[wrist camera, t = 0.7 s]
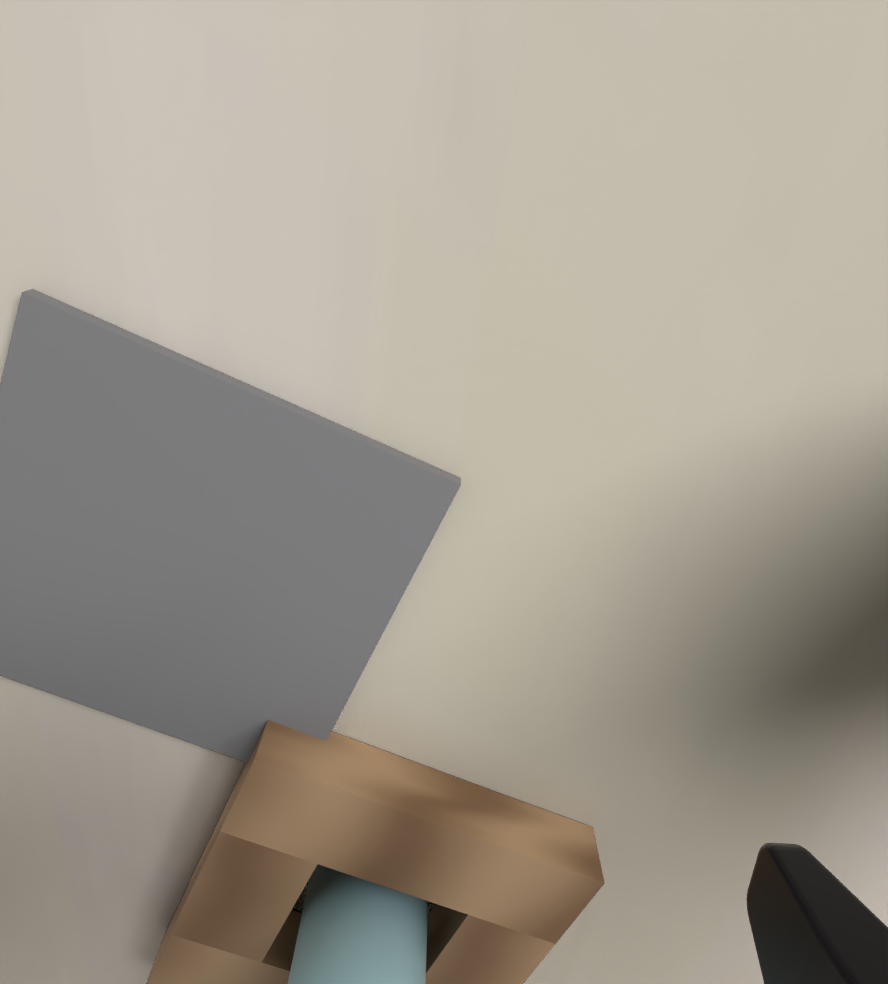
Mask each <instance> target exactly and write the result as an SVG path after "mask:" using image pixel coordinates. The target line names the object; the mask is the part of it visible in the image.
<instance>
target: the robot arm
mask: <svg viewBox="0 0 888 984" xmlns="http://www.w3.org/2000/svg"><path fill="white" fill-rule="evenodd" d="M747 910H748V916H749V920H750V925H751V929H752V933H753V937H754V942H755V946H756V950H757V954H758V959H759V963H760V967H761V971H762V976H763V980H764V984H888V927H887V926H886V925H885V924H884V923H883V922H882V921H881V920H880V919H878V918H877V917H876V916H875V915H874V914H873V913H872V912H871V911H870V910H869V909H868V908H867V907H866V906H865V905H864V904H863V903H862V902H861V901H860V900H859V899H858V898H857V897H856V896H855V895H853V894H852V893H851V892H850V891H849V890H848V889H847V888H846V887H845V886H844V885H843V884H842V883H841V882H840V881H839V880H838V879H837V878H836V877H835V876H834V875H833V874H832V873H831V872H830V871H829V870H827V869H826V868H825V867H824V866H823V865H822V864H821V863H820V862H819V861H818V860H817V859H816V858H815V857H814V856H813V855H812V854H811V853H810V852H809V851H807V850H806V849H805V848H803V847H802V846H800V845H796V844H783V843H766V844H764V845H763V846H762V847H761V848H760V851H759V853H758V857H757V860H756V864H755V867H754V870H753V874H752V877H751V881H750V884H749V888H748V892H747Z"/></svg>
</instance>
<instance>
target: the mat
mask: <svg viewBox="0 0 888 984" xmlns="http://www.w3.org/2000/svg"><path fill="white" fill-rule="evenodd" d="M460 485H461V482H460V478H459V477H457V476H455V475H452V474H450V473H448V472H446V471H443V470H441V469H439V468H437V467H434V466H432V465H430V464H427V463H425V462H423V461H421V460H418V459H416V458H414V457H412V456H409V455H407V454H405V453H403V452H400V451H398V450H396V449H394V448H391V447H389V446H387V445H384V444H382V443H380V442H378V441H375V440H373V439H371V438H369V437H366V436H364V435H362V434H360V433H357V432H355V431H353V430H351V429H348V428H346V427H344V426H341V425H339V424H337V423H335V422H332V421H330V420H328V419H326V418H323V417H321V416H319V415H317V414H314V413H312V412H310V411H308V410H305V409H303V408H301V407H298V406H296V405H294V404H292V403H289V402H287V401H285V400H283V399H280V398H278V397H276V396H274V395H271V394H269V393H267V392H265V391H262V390H260V389H258V388H255V387H253V386H251V385H249V384H246V383H244V382H242V381H240V380H237V379H235V378H233V377H231V376H228V375H226V374H224V373H222V372H219V371H217V370H215V369H212V368H210V367H208V366H206V365H203V364H201V363H199V362H197V361H194V360H192V359H190V358H188V357H185V356H183V355H181V354H179V353H176V352H174V351H172V350H169V349H167V348H165V347H163V346H160V345H158V344H156V343H154V342H151V341H149V340H147V339H145V338H142V337H140V336H138V335H136V334H133V333H131V332H129V331H126V330H124V329H122V328H120V327H117V326H115V325H113V324H111V323H108V322H106V321H104V320H102V319H99V318H97V317H95V316H93V315H90V314H88V313H86V312H83V311H81V310H79V309H77V308H74V307H72V306H70V305H68V304H65V303H63V302H61V301H59V300H56V299H54V298H52V297H50V296H47V295H45V294H43V293H41V292H38V291H36V290H34V289H31V290H28V291H24V292H22V295H21V299H20V303H19V308H18V312H17V316H16V321H15V325H14V329H13V334H12V338H11V342H10V347H9V351H8V355H7V360H6V364H5V368H4V373H3V377H2V381H1V386H0V676H3V677H6V678H9V679H12V680H14V681H17V682H20V683H23V684H26V685H28V686H31V687H34V688H37V689H40V690H43V691H45V692H48V693H51V694H54V695H57V696H60V697H62V698H65V699H68V700H71V701H74V702H77V703H79V704H82V705H85V706H88V707H91V708H94V709H96V710H99V711H102V712H105V713H108V714H111V715H113V716H116V717H119V718H122V719H125V720H127V721H130V722H133V723H136V724H139V725H142V726H144V727H147V728H150V729H153V730H156V731H159V732H161V733H164V734H167V735H170V736H173V737H176V738H178V739H181V740H184V741H187V742H190V743H193V744H195V745H198V746H201V747H204V748H207V749H210V750H212V751H215V752H218V753H221V754H224V755H226V756H229V757H232V758H235V759H238V760H241V761H243V762H246V763H247V762H248V760H249V758H250V756H251V754H252V752H253V750H254V748H255V746H256V744H257V741H258V739H259V737H260V735H261V733H262V731H263V729H264V727H265V725H266V723H267V720H270V721H273V722H275V723H278V724H281V725H283V726H286V727H289V728H292V729H294V730H297V731H300V732H303V733H305V734H308V735H311V736H314V737H316V738H319V739H322V740H325V741H326V740H327V738H328V737H329V735H330V733H331V731H332V729H333V727H334V725H335V723H336V721H337V719H338V717H339V716H340V714H341V712H342V710H343V708H344V706H345V704H346V702H347V700H348V698H349V697H350V695H351V693H352V691H353V689H354V687H355V685H356V683H357V681H358V679H359V678H360V676H361V674H362V672H363V670H364V668H365V666H366V664H367V662H368V660H369V658H370V657H371V655H372V653H373V651H374V649H375V647H376V645H377V643H378V641H379V639H380V638H381V636H382V634H383V632H384V630H385V628H386V626H387V624H388V622H389V620H390V619H391V617H392V615H393V613H394V611H395V609H396V607H397V605H398V603H399V601H400V599H401V598H402V596H403V594H404V592H405V590H406V588H407V586H408V584H409V582H410V580H411V579H412V577H413V575H414V573H415V571H416V569H417V567H418V565H419V563H420V561H421V560H422V558H423V556H424V554H425V552H426V550H427V548H428V546H429V544H430V542H431V540H432V539H433V537H434V535H435V533H436V531H437V529H438V527H439V525H440V523H441V521H442V520H443V518H444V516H445V514H446V512H447V510H448V508H449V506H450V504H451V502H452V501H453V499H454V497H455V495H456V493H457V491H458V489H459V487H460Z"/></svg>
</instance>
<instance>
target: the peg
mask: <svg viewBox="0 0 888 984" xmlns="http://www.w3.org/2000/svg"><path fill="white" fill-rule="evenodd" d="M427 926H428V901H426V900H423V899H420V898H417V897H414V896H411V895H408V894H405V893H402V892H399V891H396V890H393V889H390V888H387V887H384V886H381V885H378V884H375V883H372V882H369V881H366V880H363V879H360V878H357V877H354V876H351V875H348V874H345V873H342V872H339V871H337V870H334V869H331V868H328V867H325V866H322V865H319V864H317V866H316V868H315V870H314V871H313V873H312V875H311V877H310V878H309V882H308V886H307V891H306V896H305V901H304V906H303V911H302V916H301V921H300V926H299V931H298V935H297V940H296V945H295V950H294V955H293V960H292V965H291V970H290V975H289V980H288V984H425V982H426V954H427Z"/></svg>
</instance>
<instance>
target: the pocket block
mask: <svg viewBox="0 0 888 984" xmlns="http://www.w3.org/2000/svg"><path fill="white" fill-rule="evenodd" d="M317 864H319V865H322V866H325V867H328V868H331V869H334V870H337V871H339V872H342V873H345V874H348V875H351V876H354V877H357V878H360V879H363V880H366V881H369V882H372V883H375V884H378V885H381V886H384V887H387V888H390V889H393V890H396V891H399V892H402V893H405V894H408V895H411V896H414V897H417V898H420V899H423V900H426V901H429V902H432V903H435V906H434V907H433V909H432V910H431V912H430V913H429V915H428V926H427V954H426V982H425V984H523V983H524V982H525V981H526V979H527V978H528V977H529V976H530V974H531V973H532V972H533V971H534V970H535V968H536V967H537V966H538V965H539V963H540V962H541V961H542V960H543V958H544V957H545V956H546V955H547V954H548V952H549V951H550V950H551V949H552V947H553V946H554V945H555V944H556V942H557V941H558V940H559V939H560V937H561V936H562V935H563V934H564V933H565V931H566V930H567V929H568V928H569V926H570V925H571V924H572V923H573V921H574V920H575V919H576V918H577V917H578V915H579V914H580V913H581V912H582V910H583V909H584V908H585V907H586V905H587V904H588V903H589V902H590V900H591V899H592V898H593V897H594V896H595V894H596V893H597V892H598V891H599V889H600V888H601V887H602V886H603V884H604V879H603V874H602V869H601V865H600V860H599V855H598V850H597V845H596V841H595V836H594V831H593V827H590V826H587V825H585V824H582V823H579V822H576V821H574V820H571V819H568V818H566V817H563V816H560V815H557V814H555V813H552V812H549V811H547V810H544V809H541V808H538V807H536V806H533V805H530V804H528V803H525V802H522V801H519V800H517V799H514V798H511V797H509V796H506V795H503V794H500V793H498V792H495V791H492V790H490V789H487V788H484V787H481V786H479V785H476V784H473V783H471V782H468V781H465V780H462V779H460V778H457V777H454V776H452V775H449V774H446V773H443V772H441V771H438V770H435V769H432V768H430V767H427V766H424V765H422V764H419V763H416V762H413V761H411V760H408V759H405V758H403V757H400V756H397V755H394V754H392V753H389V752H386V751H384V750H381V749H378V748H375V747H373V746H370V745H367V744H365V743H362V742H359V741H356V740H354V739H351V738H348V737H346V736H343V735H340V734H337V733H335V732H332V731H331V733H330V735H329V737H328V738H327V740H326V741H325V740H322V739H319V738H316V737H314V736H311V735H308V734H305V733H303V732H300V731H297V730H294V729H292V728H289V727H286V726H283V725H281V724H278V723H275V722H273V721H270V720H267V723H266V725H265V727H264V729H263V731H262V733H261V735H260V737H259V739H258V741H257V744H256V746H255V748H254V750H253V752H252V754H251V756H250V758H249V760H248V762H247V763H246V764H245V766H244V768H243V770H242V772H241V774H240V776H239V778H238V781H237V783H236V785H235V787H234V789H233V791H232V793H231V795H230V797H229V799H228V802H227V804H226V806H225V808H224V810H223V812H222V814H221V816H220V818H219V821H218V823H217V825H216V827H215V829H214V831H213V833H212V835H211V837H210V840H209V842H208V844H207V846H206V848H205V850H204V852H203V854H202V856H201V858H200V861H199V863H198V865H197V867H196V869H195V871H194V873H193V875H192V877H191V880H190V882H189V884H188V886H187V888H186V890H185V892H184V894H183V896H182V898H181V901H180V903H179V905H178V907H177V909H176V911H175V913H174V915H173V917H172V920H171V922H170V924H169V926H168V928H167V930H166V932H165V935H164V938H163V940H162V943H161V946H160V948H159V951H158V954H157V956H156V959H155V962H154V964H153V967H152V969H151V972H150V975H149V977H148V980H147V983H146V984H288V980H289V975H290V970H291V965H292V960H293V955H294V950H295V945H296V940H297V935H298V931H299V926H300V921H301V916H302V913H300V912H297V911H294V910H292V908H293V906H294V905H295V903H296V901H297V899H298V898H299V896H300V894H301V892H302V891H303V889H304V887H305V885H306V884H307V882H308V880H309V878H310V877H311V875H312V873H313V871H314V870H315V868H316V866H317Z"/></svg>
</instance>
